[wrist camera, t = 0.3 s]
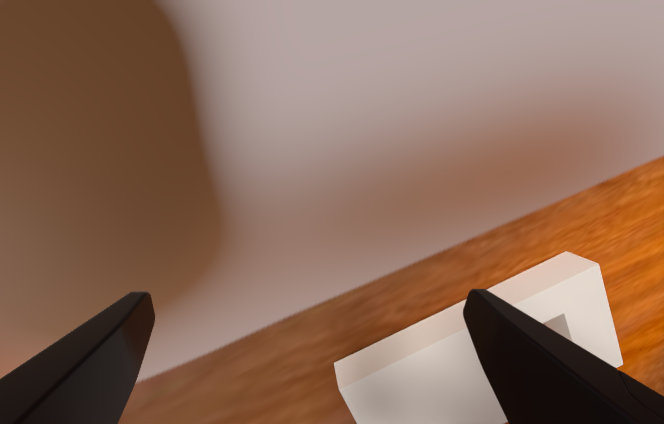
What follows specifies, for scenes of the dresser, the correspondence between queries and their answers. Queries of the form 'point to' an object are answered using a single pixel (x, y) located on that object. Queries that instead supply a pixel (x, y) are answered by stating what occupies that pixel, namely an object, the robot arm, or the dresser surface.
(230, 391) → the dresser surface
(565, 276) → the board
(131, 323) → the robot arm
